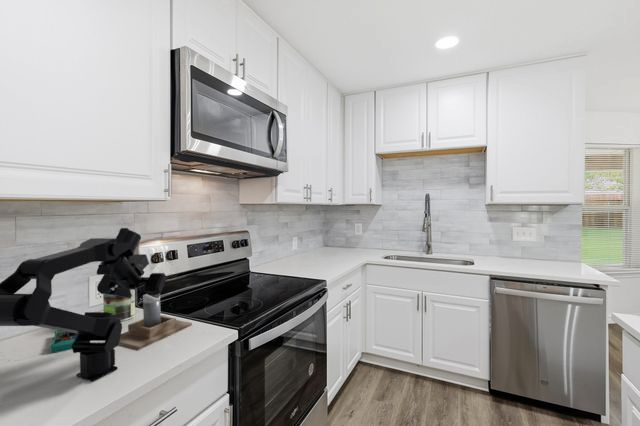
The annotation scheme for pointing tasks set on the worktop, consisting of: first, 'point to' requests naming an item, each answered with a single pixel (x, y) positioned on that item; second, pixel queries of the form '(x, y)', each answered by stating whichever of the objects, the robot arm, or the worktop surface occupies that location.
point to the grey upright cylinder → (151, 311)
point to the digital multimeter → (62, 341)
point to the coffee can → (120, 306)
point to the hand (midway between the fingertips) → (144, 296)
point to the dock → (150, 332)
